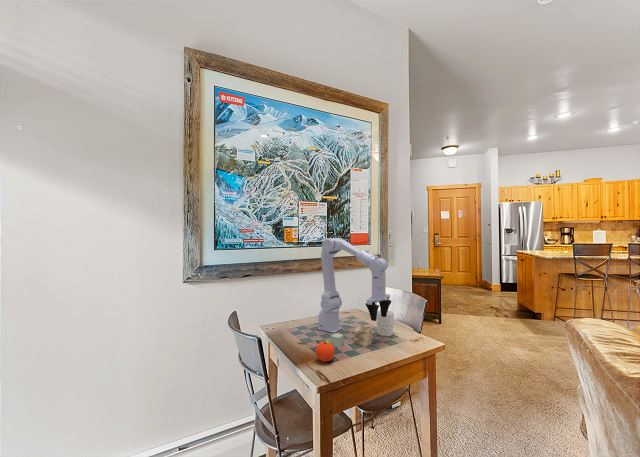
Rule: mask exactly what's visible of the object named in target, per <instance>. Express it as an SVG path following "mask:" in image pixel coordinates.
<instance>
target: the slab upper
mask: <svg viewBox="0 0 640 457" xmlns="http://www.w3.org/2000/svg"><path fill="white" fill-rule="evenodd" d="M372 330H373V329H372V327H368V326H360V325H359V326H356V328H355V329H354V332H353V334H354V336H353V339H354V338H361V339H369V338H370V337H371V335H372V334H373V331H372Z"/></svg>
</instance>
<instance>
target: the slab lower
mask: <svg viewBox="0 0 640 457" xmlns="http://www.w3.org/2000/svg"><path fill="white" fill-rule="evenodd" d="M373 340H374V339H373V335H371V337H370V338H369V339H361V338H354V337H353V344H354V345H358V346H363V347H368V346H369V345H371V344H372V343H373Z"/></svg>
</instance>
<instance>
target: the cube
mask: <svg viewBox="0 0 640 457" xmlns="http://www.w3.org/2000/svg"><path fill="white" fill-rule="evenodd" d="M344 336H345V335H344V334H341V333H336V332H335V333H333V334H332V335H330V341H331V342H332V343H331V342H330V343H331V344H332V345H333V347H334V348H335V347H336V348H340V347H342V346H344V344H345V343H344V342H345V341H344V340H345V337H344Z"/></svg>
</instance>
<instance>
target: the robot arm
mask: <svg viewBox="0 0 640 457" xmlns="http://www.w3.org/2000/svg"><path fill="white" fill-rule="evenodd" d="M340 251H344V252H346V253H348V254H350V255H352V256H354V257H356V259H357V261H358V262H359V263H361V264H362V265H364V266H366V267H368V269H369V270H370V271H371V296H370V297H369V298H367V299H366V303H365V307H366V308H367V311H368V313H369V316H370V320H371V321H372V322H377V311H378V310H381V316H382V317H386V316H387V311H388V310H389V308H390V306H391V304H392V300H391V294H390V293H389V294H387V292H386V285H387V284H386V271H387V269H388V266H389V264H388V261H387V260H386V259H385V258H384V257H379V256H378V255H374V254H373V253H370V251H369V249H363V250H361V249H359V248H357V247H355V246H354V245H352V244H350V243H349V242H348V241H347V240H346V239H343V238H341V237H333V238H330V237H327V238H325V239H324V240H323V241H322V242H321V253H320V259H321V260H320V261H321V269H322V278H323V288H324V292H322V294H321V295H320V296H321V298H320V299H321V301H320V307H321V309H320V311H319V313H318V328H317V330H320V331H324V332H330V333H333V334H335V333H336V332H338V331H340V330H342V329H343V326H340V308H341V307H342V305H343V301H342V298H341V296H340V292H339V291H338V290H337V287H336V278H335V277H336V276H335V267H334V261H333V260H334V259H333V258H334V257H335V255H336V254H338V253H339V252H340ZM377 303H379V304H377ZM379 308H380V309H379Z"/></svg>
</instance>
